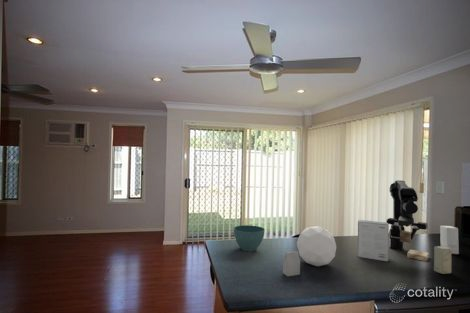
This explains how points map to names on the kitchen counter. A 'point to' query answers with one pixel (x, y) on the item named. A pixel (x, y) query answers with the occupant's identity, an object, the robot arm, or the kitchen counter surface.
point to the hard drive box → (373, 240)
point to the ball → (316, 246)
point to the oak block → (418, 255)
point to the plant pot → (248, 237)
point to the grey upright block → (291, 264)
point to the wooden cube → (405, 236)
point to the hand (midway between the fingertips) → (406, 239)
